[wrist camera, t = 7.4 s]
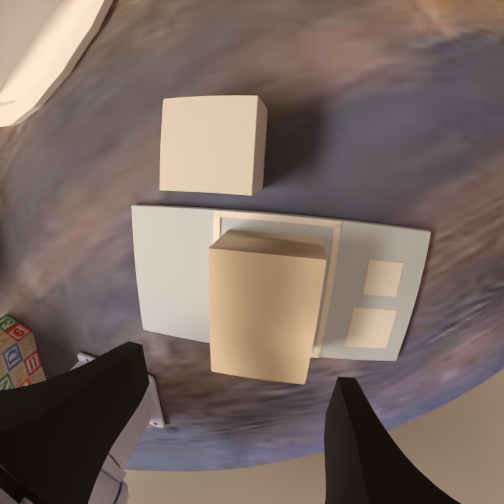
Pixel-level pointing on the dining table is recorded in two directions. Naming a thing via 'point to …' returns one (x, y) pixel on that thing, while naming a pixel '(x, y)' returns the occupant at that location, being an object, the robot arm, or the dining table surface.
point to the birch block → (264, 304)
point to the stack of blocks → (18, 355)
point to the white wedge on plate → (41, 49)
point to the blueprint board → (334, 285)
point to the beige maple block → (213, 144)
